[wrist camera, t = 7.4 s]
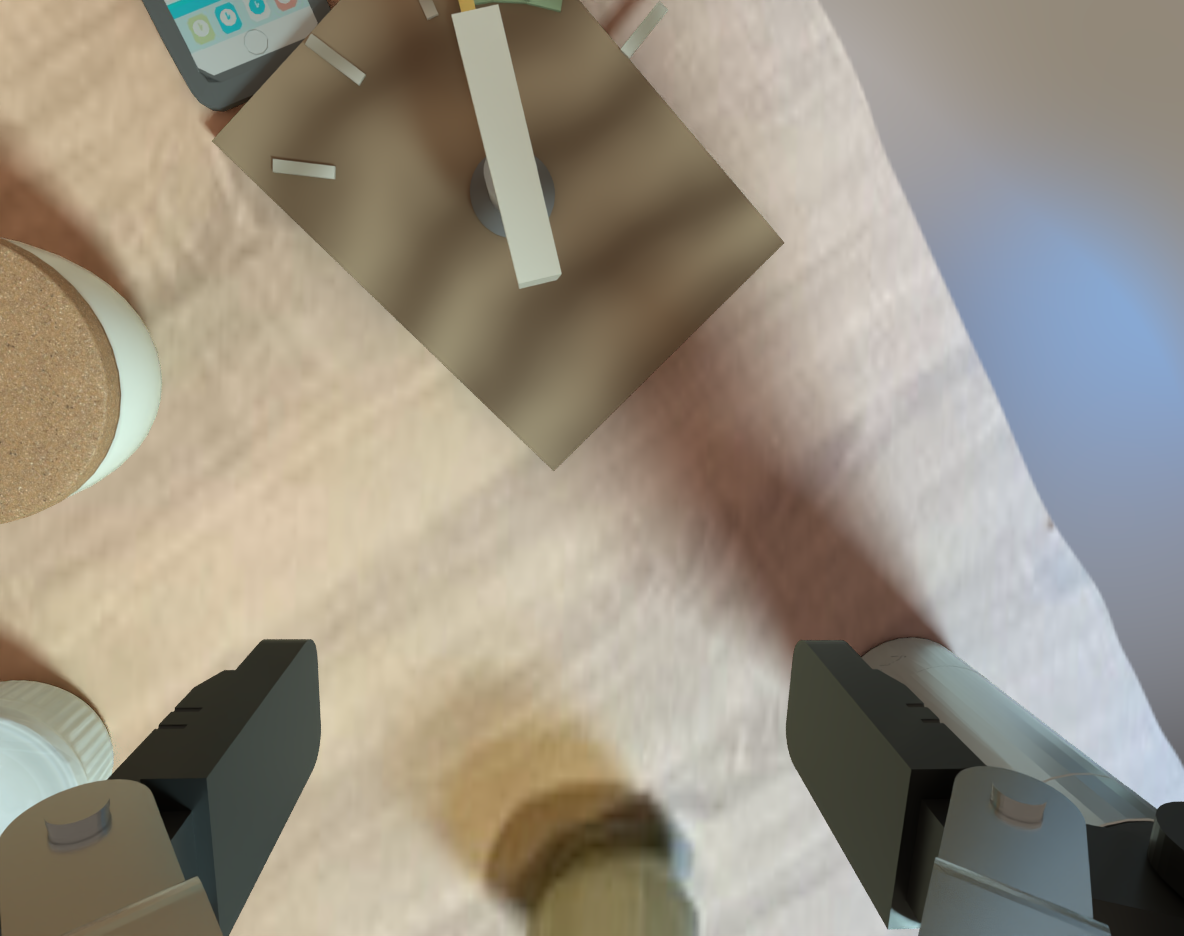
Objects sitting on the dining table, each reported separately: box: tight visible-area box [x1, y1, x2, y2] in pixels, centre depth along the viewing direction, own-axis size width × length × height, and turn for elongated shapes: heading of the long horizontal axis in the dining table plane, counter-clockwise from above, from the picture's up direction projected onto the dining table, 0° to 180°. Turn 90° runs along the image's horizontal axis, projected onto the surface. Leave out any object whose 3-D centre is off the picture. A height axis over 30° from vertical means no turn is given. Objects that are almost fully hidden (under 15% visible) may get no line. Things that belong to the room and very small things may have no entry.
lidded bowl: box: [0, 237, 162, 524], centre depth 32 cm, size 13×13×11 cm
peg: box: [451, 0, 562, 289], centre depth 31 cm, size 16×2×9 cm, turn 13°
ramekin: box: [0, 680, 114, 836], centre depth 39 cm, size 11×11×5 cm
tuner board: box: [212, 0, 784, 471], centre depth 37 cm, size 24×21×2 cm
